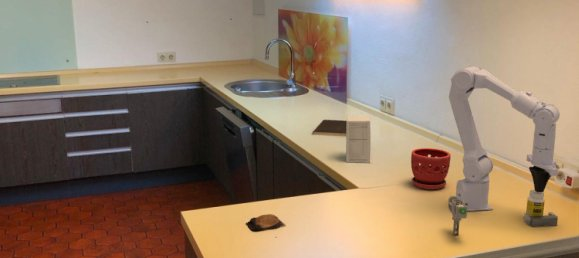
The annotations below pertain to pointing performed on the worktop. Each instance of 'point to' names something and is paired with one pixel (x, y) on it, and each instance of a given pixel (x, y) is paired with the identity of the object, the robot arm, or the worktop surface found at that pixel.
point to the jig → (541, 220)
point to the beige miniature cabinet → (358, 139)
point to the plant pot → (430, 167)
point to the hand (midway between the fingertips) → (539, 191)
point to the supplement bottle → (535, 203)
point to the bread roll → (264, 223)
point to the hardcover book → (331, 128)
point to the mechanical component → (457, 212)
